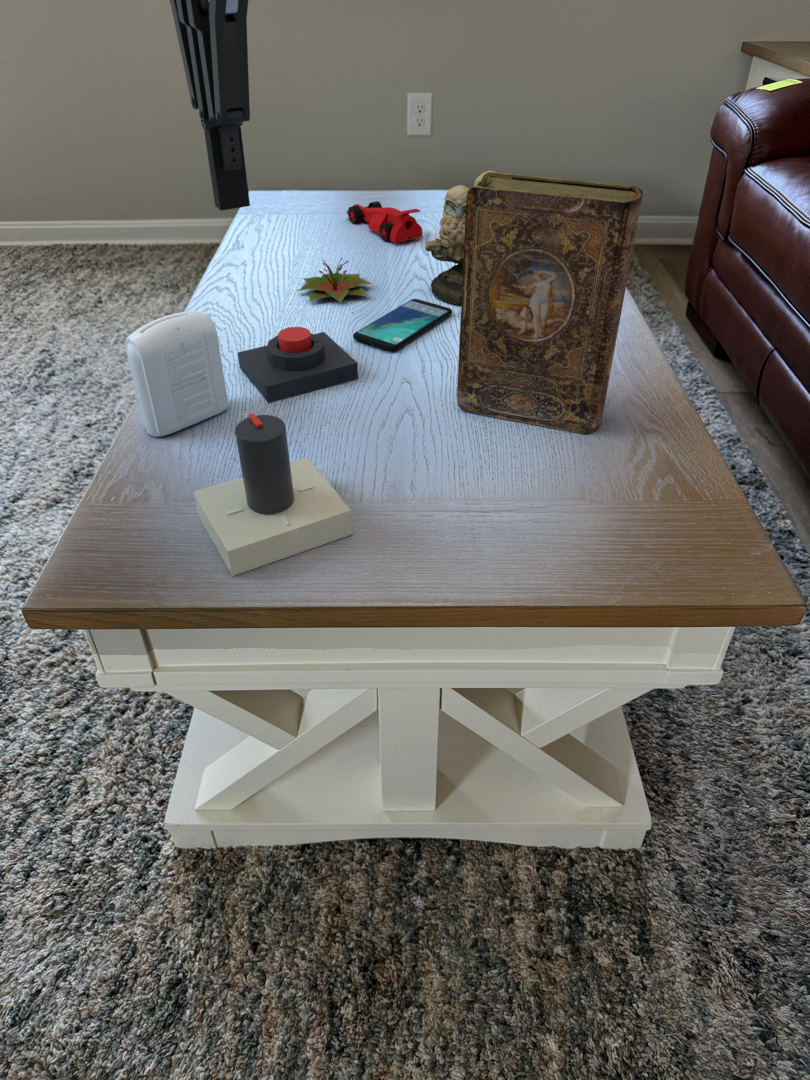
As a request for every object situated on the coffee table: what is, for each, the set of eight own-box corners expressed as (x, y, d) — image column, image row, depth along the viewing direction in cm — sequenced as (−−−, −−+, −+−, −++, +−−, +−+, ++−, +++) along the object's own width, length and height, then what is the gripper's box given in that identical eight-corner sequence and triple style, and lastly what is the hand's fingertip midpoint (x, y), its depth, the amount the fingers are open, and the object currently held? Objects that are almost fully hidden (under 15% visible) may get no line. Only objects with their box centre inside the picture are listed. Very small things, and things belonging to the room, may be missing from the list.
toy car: (369, 212, 147) (368, 183, 143) (423, 239, 135) (423, 209, 132) (342, 218, 144) (340, 189, 141) (394, 246, 133) (393, 216, 130)
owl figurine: (419, 306, 114) (420, 182, 103) (429, 275, 123) (431, 158, 112) (544, 313, 112) (558, 188, 101) (545, 281, 121) (558, 162, 110)
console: (232, 576, 70) (227, 550, 68) (198, 516, 77) (192, 490, 75) (352, 534, 75) (351, 508, 73) (310, 480, 81) (307, 455, 79)
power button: (286, 357, 95) (285, 344, 94) (274, 344, 97) (272, 331, 96) (317, 349, 96) (315, 336, 95) (304, 337, 99) (302, 324, 98)
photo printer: (215, 396, 95) (197, 297, 87) (235, 409, 92) (219, 309, 84) (138, 428, 89) (112, 326, 81) (158, 443, 87) (133, 339, 79)
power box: (268, 402, 94) (264, 372, 91) (239, 368, 100) (235, 339, 98) (358, 378, 98) (357, 349, 95) (325, 346, 105) (322, 318, 102)
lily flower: (299, 311, 113) (296, 280, 110) (292, 279, 122) (289, 249, 119) (381, 303, 115) (380, 273, 112) (368, 273, 124) (367, 243, 121)
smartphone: (454, 308, 112) (393, 348, 102) (454, 313, 112) (393, 353, 103) (413, 297, 115) (350, 334, 105) (413, 302, 115) (350, 339, 106)
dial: (301, 505, 73) (292, 429, 68) (257, 520, 72) (244, 443, 66) (283, 481, 76) (273, 406, 71) (240, 494, 75) (227, 419, 69)
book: (604, 412, 92) (646, 186, 75) (596, 436, 88) (638, 204, 71) (469, 388, 96) (481, 170, 80) (456, 410, 92) (465, 186, 76)
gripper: (271, -150, 51) (301, 220, 67) (207, -146, 60) (246, 181, 75) (158, -152, 49) (216, 235, 64) (107, -148, 57) (169, 192, 72)
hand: (232, 205), depth 69 cm, fingers closed
